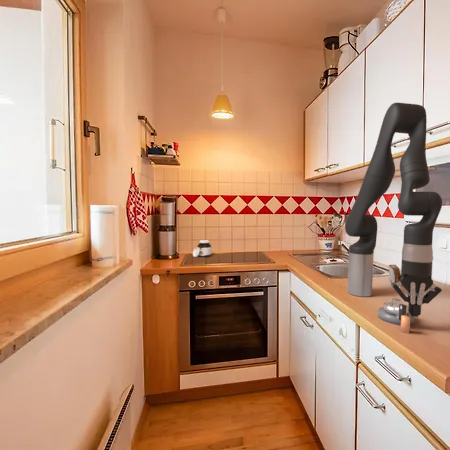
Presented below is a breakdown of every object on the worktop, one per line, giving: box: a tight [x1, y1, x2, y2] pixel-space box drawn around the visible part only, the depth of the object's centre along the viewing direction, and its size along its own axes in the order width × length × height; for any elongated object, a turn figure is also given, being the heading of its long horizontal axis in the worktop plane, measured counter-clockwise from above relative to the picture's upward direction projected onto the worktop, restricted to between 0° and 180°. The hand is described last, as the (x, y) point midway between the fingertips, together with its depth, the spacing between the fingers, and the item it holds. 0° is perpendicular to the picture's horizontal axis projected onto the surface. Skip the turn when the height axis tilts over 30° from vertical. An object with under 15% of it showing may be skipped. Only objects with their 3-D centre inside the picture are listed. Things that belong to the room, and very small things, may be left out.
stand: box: [377, 306, 415, 334], centre depth 87 cm, size 15×10×4 cm, turn 2°
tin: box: [388, 264, 401, 283], centre depth 131 cm, size 15×3×8 cm, turn 158°
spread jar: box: [192, 239, 213, 258], centre depth 199 cm, size 12×11×12 cm
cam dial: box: [383, 297, 409, 320], centre depth 87 cm, size 11×7×4 cm, turn 162°
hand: (414, 315), depth 83 cm, fingers closed
